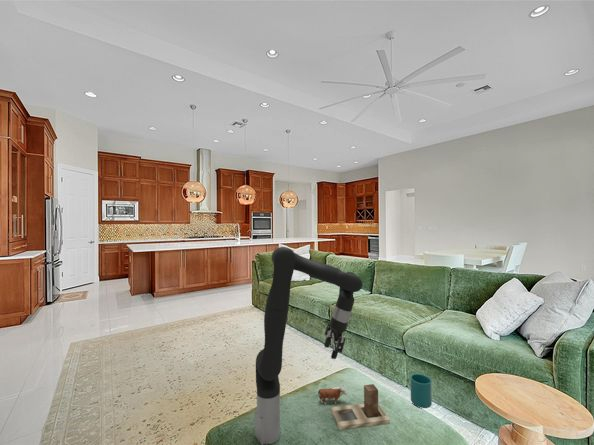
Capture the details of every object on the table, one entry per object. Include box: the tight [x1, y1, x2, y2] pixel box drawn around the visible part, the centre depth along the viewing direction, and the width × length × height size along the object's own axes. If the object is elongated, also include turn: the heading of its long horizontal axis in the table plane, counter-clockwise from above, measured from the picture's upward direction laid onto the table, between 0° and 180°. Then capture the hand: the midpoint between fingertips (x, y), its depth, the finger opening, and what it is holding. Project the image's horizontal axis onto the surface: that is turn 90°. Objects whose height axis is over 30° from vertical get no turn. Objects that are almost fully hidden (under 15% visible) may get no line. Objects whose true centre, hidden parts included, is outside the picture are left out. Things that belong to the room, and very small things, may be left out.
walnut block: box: [363, 383, 379, 418], centre depth 121 cm, size 4×4×12 cm
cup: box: [410, 373, 433, 409], centre depth 132 cm, size 9×12×11 cm
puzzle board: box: [330, 402, 391, 431], centre depth 120 cm, size 22×12×2 cm, turn 100°
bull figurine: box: [317, 386, 348, 405], centre depth 130 cm, size 4×13×8 cm, turn 89°
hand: (329, 352), depth 121 cm, fingers open, 8 cm apart
